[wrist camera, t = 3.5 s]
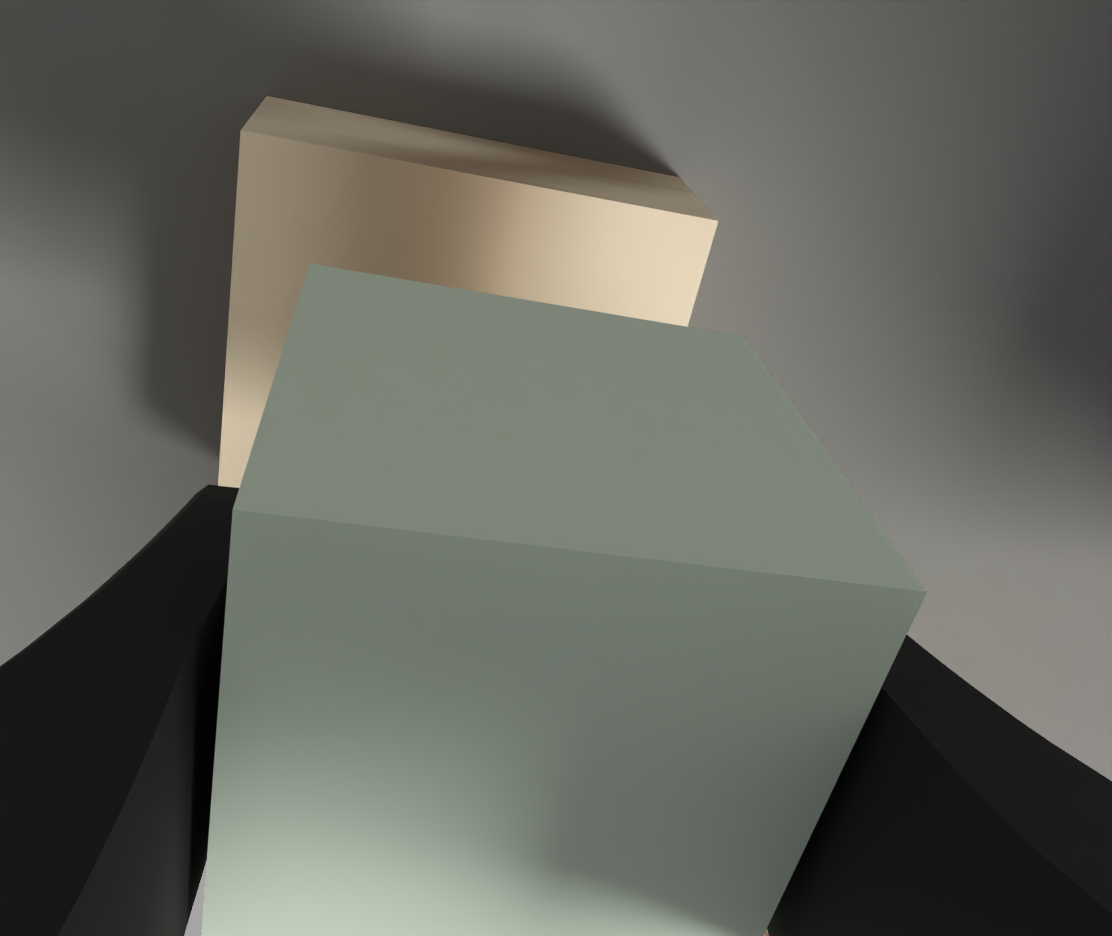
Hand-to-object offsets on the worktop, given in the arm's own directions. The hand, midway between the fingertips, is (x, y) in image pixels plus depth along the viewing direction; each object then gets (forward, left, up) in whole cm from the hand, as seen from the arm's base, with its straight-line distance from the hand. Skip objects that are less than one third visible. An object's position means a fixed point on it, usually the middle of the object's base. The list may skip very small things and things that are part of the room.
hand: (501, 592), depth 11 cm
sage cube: (0, 0, -2) cm, 2 cm away
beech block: (0, +1, -9) cm, 9 cm away
